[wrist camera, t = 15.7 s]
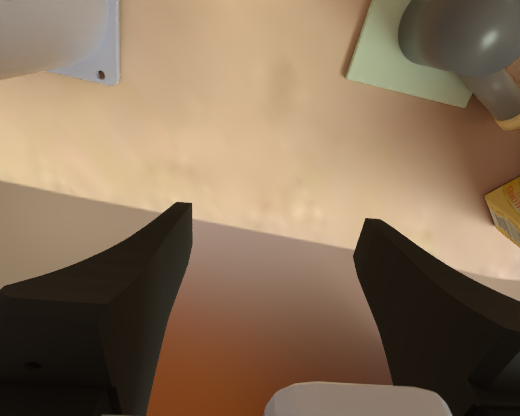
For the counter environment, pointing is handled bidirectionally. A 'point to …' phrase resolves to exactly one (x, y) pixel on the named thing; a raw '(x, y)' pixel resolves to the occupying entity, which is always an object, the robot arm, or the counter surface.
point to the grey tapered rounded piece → (469, 47)
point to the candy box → (506, 209)
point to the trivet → (399, 60)
